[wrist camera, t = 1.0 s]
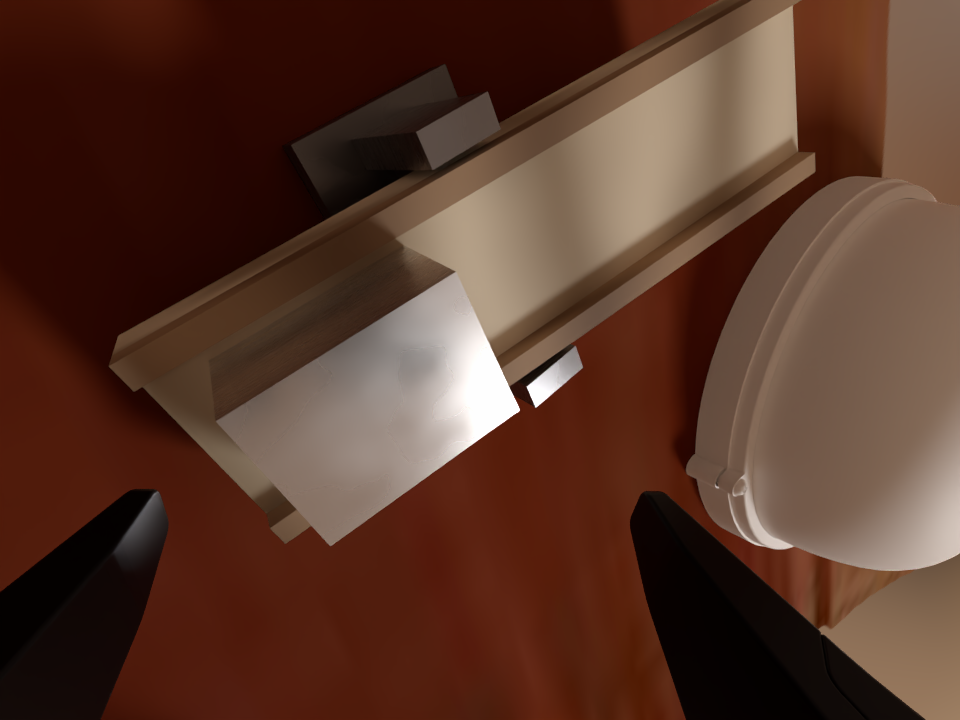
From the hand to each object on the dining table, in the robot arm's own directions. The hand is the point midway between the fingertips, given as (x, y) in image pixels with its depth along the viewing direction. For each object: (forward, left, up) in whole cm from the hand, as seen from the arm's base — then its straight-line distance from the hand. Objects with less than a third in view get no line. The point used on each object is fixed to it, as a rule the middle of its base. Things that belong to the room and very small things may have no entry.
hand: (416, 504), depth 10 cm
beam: (+9, 0, -8) cm, 12 cm away
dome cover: (+33, -27, -11) cm, 44 cm away
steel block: (+1, 0, -6) cm, 7 cm away
